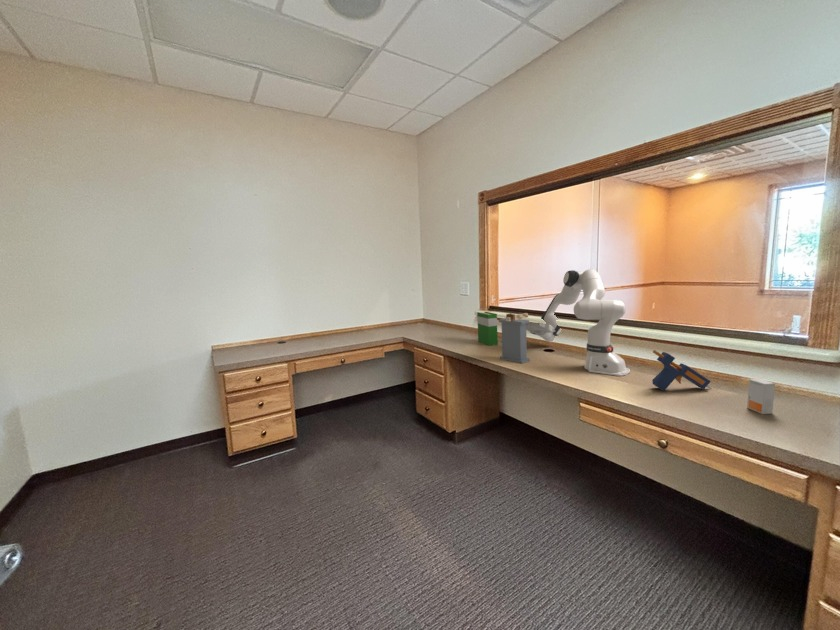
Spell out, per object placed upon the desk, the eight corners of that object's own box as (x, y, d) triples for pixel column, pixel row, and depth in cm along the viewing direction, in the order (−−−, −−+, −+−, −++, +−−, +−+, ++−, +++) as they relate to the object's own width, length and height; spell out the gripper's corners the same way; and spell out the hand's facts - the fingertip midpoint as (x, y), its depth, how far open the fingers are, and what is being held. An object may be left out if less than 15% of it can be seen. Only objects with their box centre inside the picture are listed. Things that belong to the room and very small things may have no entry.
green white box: (478, 341, 278) (477, 312, 275) (486, 340, 280) (485, 311, 277) (489, 346, 262) (488, 314, 258) (497, 344, 264) (496, 313, 261)
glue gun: (695, 411, 157) (718, 386, 154) (641, 376, 155) (663, 349, 152) (685, 405, 163) (707, 380, 160) (633, 371, 161) (655, 345, 158)
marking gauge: (523, 316, 227) (523, 309, 227) (529, 317, 224) (529, 309, 223) (504, 320, 215) (504, 313, 214) (511, 321, 211) (511, 313, 210)
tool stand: (529, 360, 216) (529, 320, 213) (522, 363, 211) (521, 321, 208) (507, 356, 229) (506, 318, 226) (499, 358, 224) (498, 319, 221)
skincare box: (746, 408, 135) (748, 378, 133) (756, 407, 135) (758, 378, 134) (762, 414, 129) (765, 384, 127) (773, 413, 129) (775, 383, 128)
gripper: (555, 336, 231) (545, 329, 222) (528, 333, 246) (518, 326, 238) (557, 327, 232) (548, 320, 223) (530, 324, 248) (521, 317, 239)
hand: (532, 323), depth 231 cm, fingers open, 8 cm apart
